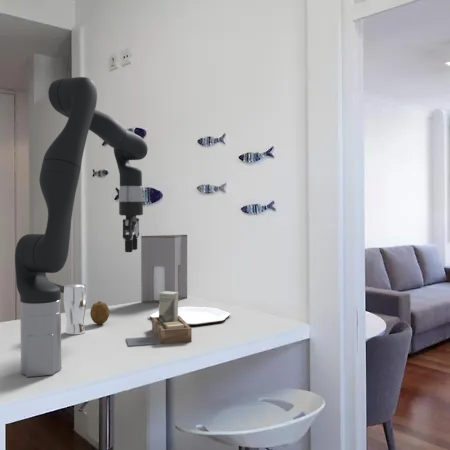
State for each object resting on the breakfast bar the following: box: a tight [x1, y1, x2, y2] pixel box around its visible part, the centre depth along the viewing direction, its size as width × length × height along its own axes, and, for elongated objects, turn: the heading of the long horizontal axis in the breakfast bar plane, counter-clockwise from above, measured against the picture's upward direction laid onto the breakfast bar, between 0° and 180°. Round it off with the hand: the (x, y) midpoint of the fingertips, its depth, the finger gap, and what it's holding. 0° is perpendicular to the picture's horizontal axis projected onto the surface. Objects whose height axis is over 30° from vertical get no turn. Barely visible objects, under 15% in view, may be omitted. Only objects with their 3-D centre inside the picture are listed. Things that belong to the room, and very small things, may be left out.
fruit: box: [90, 300, 110, 326], centre depth 168 cm, size 6×6×8 cm
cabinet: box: [140, 234, 188, 304], centre depth 209 cm, size 21×10×28 cm, turn 122°
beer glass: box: [63, 283, 88, 336], centre depth 157 cm, size 7×7×15 cm
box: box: [158, 291, 179, 327], centre depth 158 cm, size 5×4×13 cm
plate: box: [149, 306, 231, 326], centre depth 179 cm, size 28×28×2 cm
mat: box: [125, 336, 157, 347], centre depth 146 cm, size 8×8×1 cm
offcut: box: [163, 321, 184, 329], centre depth 150 cm, size 5×5×2 cm
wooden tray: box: [151, 316, 193, 345], centre depth 154 cm, size 18×9×4 cm, turn 17°
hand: (131, 250), depth 159 cm, fingers open, 8 cm apart
